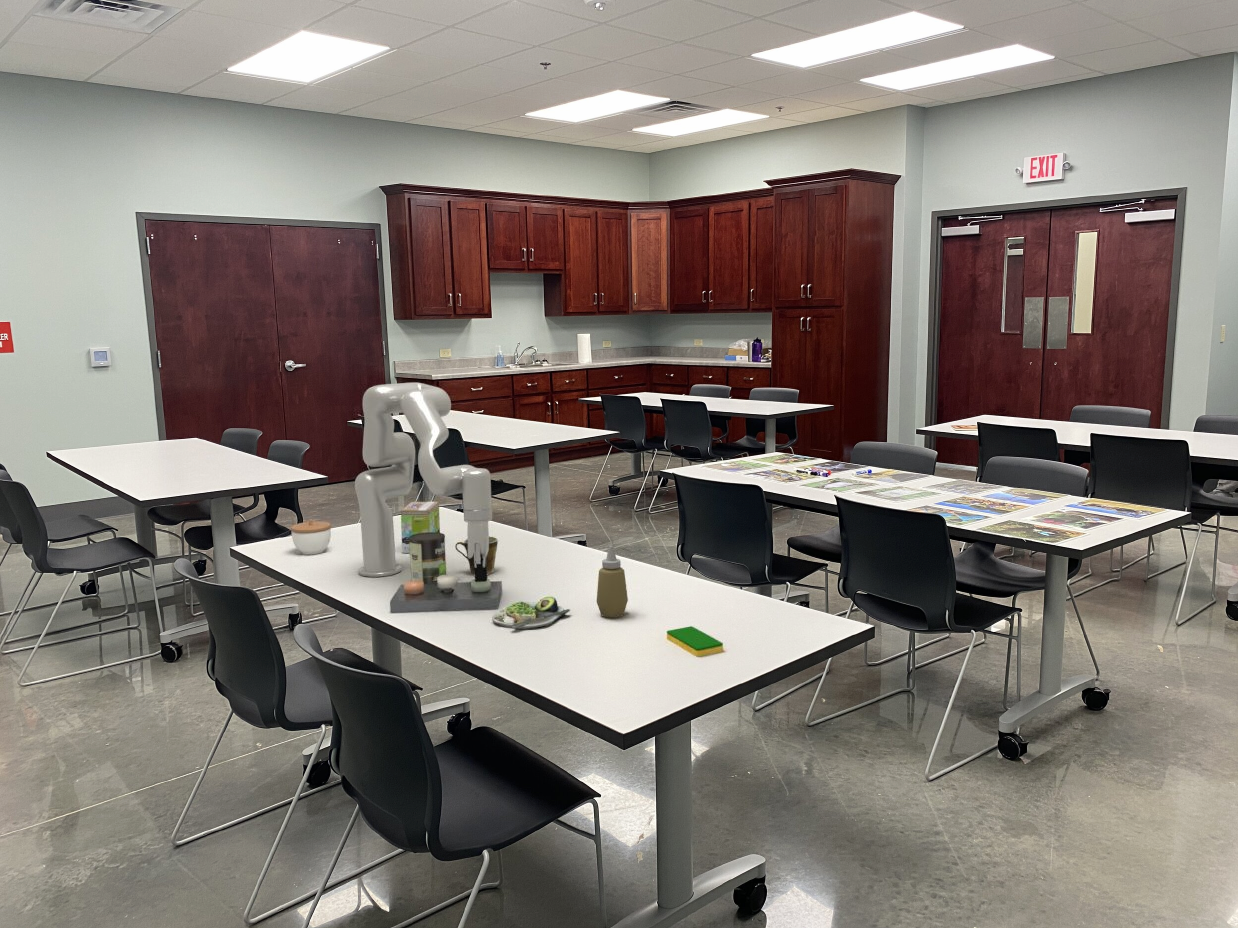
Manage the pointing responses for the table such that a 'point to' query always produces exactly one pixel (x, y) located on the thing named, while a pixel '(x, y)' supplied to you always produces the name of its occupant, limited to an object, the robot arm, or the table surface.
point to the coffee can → (427, 556)
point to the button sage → (480, 586)
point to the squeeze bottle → (611, 587)
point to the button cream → (447, 582)
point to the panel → (446, 598)
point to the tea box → (418, 521)
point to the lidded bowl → (311, 536)
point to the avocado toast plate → (530, 614)
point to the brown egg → (414, 587)
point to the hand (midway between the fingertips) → (481, 580)
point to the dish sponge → (694, 641)
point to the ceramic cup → (489, 558)
